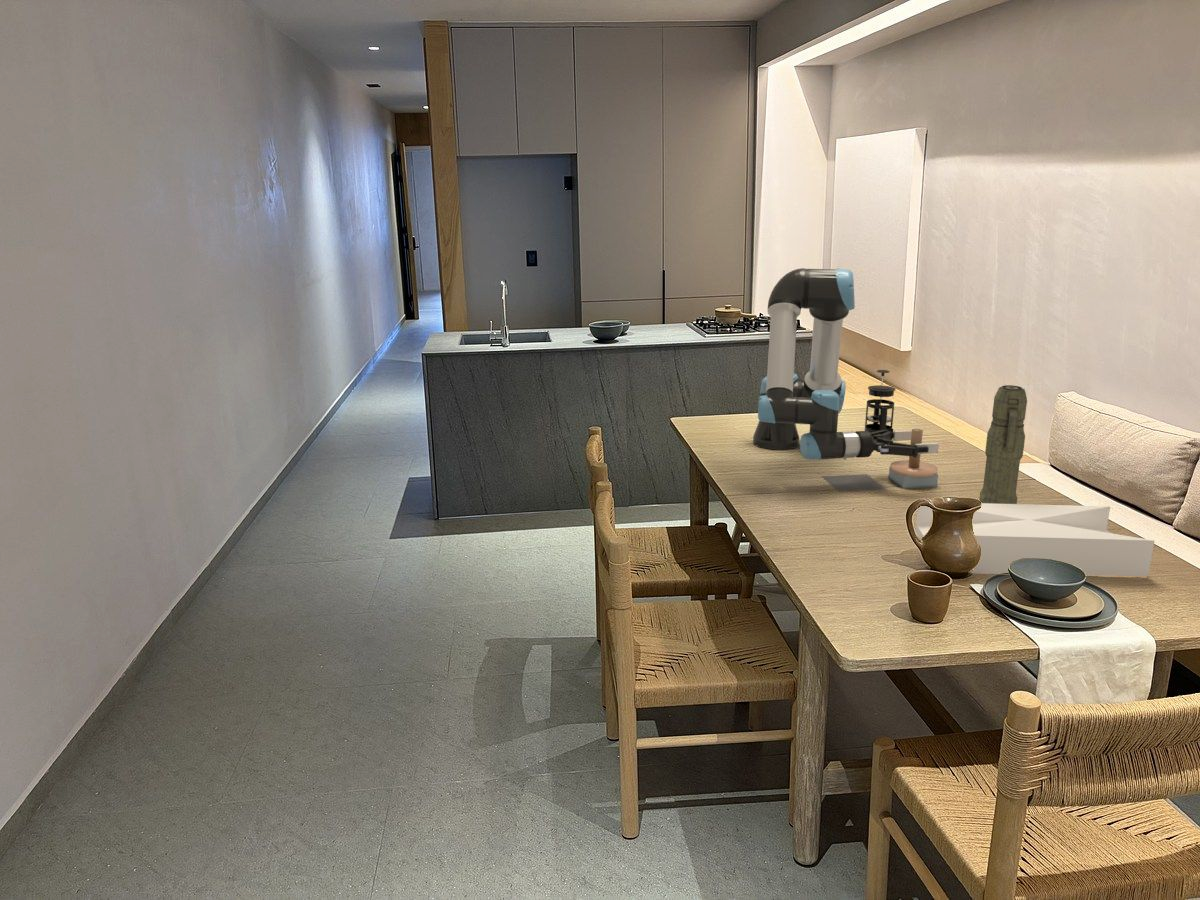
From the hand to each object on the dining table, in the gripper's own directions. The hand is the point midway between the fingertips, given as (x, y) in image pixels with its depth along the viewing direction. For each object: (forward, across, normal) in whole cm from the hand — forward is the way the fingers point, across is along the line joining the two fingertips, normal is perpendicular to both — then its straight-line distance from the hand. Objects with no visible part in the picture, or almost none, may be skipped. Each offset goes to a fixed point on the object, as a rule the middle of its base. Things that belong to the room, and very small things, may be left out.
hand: (926, 441), depth 264 cm
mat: (-20, -2, -12) cm, 24 cm away
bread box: (-1, +54, -13) cm, 56 cm away
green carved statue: (+5, +31, -13) cm, 34 cm away
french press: (+8, -49, -13) cm, 51 cm away
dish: (-3, 0, -12) cm, 13 cm away
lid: (-3, 0, -8) cm, 9 cm away
